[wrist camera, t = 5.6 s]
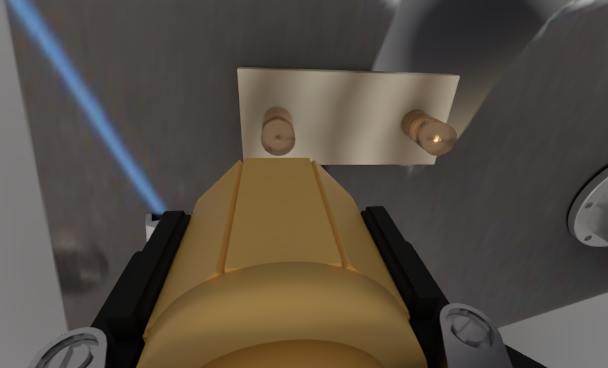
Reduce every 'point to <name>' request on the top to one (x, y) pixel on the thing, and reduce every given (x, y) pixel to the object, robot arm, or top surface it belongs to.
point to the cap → (279, 280)
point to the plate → (343, 112)
